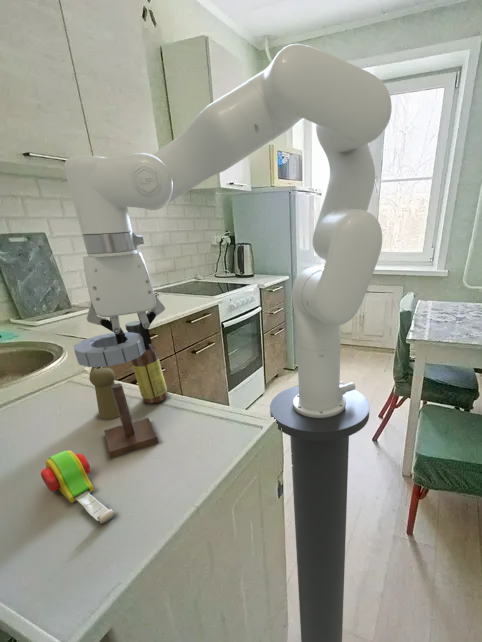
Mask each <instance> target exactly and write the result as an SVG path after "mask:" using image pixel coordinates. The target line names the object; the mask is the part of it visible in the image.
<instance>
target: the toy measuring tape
mask: <svg viewBox="0 0 482 642" xmlns="http://www.w3.org/2000/svg"><path fill="white" fill-rule="evenodd" d="M45 466H46V467H45V468H43V469H42V470H41V471H40V476H41V478H42V480H43V483H44V484H45V486H46V488H47V489H48V490H49V491H50V492H55V491H57V490H59V492H60V493H61V494H62V495H63V496H64V497H65V498H66V500H68V502H69V503H71V504H73V503H75V502H78V503H79V504H80V505H81V506H82V507H83V508H84V510H85V511H86V513H88V514H89V515H90V516H91V518H93V519H94V520H95V521H96V522H99V524H100V525H103V524H105V522H107V521H109V520H110V519H112V518H113V517H115V511H114V509H111V508H107V506H105V505H104V504H103V503H101V502H100V501H99V500H98V499H97V498H95V496H93V495H92V494H91V493H93V492H95V489H94V486H93V484H92V482H91V481H90V479H89V477H88V474H90V473H91V471H92V469H91V465H90V462H89V460H88V459H87V458H86V456H85V455H84V454H83V453H81V452H79V453H74V452H73V451H72V450H70V449H68V450H62V451H61V452H59V453H56V454H53V455H51V456H49V457H48V458H47V459H46V460H45Z"/></svg>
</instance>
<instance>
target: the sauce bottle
mask: <svg viewBox="0 0 482 642" xmlns="http://www.w3.org/2000/svg"><path fill="white" fill-rule="evenodd" d="M139 324H140V321H139V320H133V321H130V322H126V324H125V325H124V326H125V330H126V332H132V333H138V334H140V332H139V328H138V327H139V326H140V325H139ZM149 349H150V350H146V351H145V352H144V353H143V354H142V355H141V356H139V357H138V358H136V359H134V360H131V361H130V362H131V366H132V369H133V373H134V376H135V379H136V383H137V386H138V389H139V392H140V396H141V397H142V400H143V402H145V403H146V404H158V403H160V402H163V401H165V400H166V399H167V398H168V396H169V392H168V387H167V384H166V380H165V377H164V373H163V369H162V365H161V362H160V358H159V356H158V353H157V349H156V346H155V345H154V344H153V343H151V344H149Z"/></svg>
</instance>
